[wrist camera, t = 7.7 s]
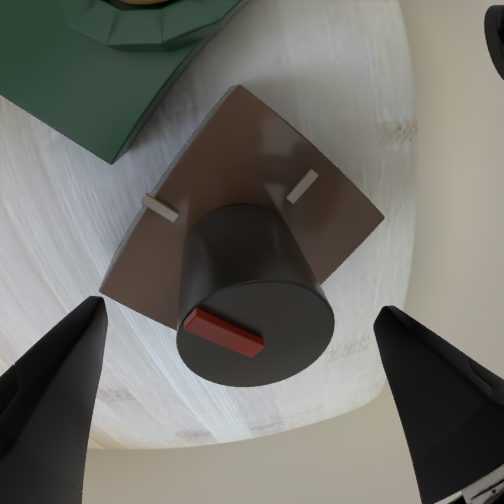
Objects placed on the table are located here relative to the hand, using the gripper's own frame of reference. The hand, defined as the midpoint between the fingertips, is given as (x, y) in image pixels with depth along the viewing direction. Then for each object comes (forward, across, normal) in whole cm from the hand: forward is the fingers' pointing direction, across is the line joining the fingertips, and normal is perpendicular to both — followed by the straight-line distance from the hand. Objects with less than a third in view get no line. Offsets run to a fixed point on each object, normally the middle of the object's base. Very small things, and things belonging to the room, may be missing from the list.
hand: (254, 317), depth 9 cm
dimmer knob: (+3, 0, 0) cm, 3 cm away
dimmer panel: (+6, 0, 0) cm, 7 cm away
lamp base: (+6, +10, -11) cm, 16 cm away
